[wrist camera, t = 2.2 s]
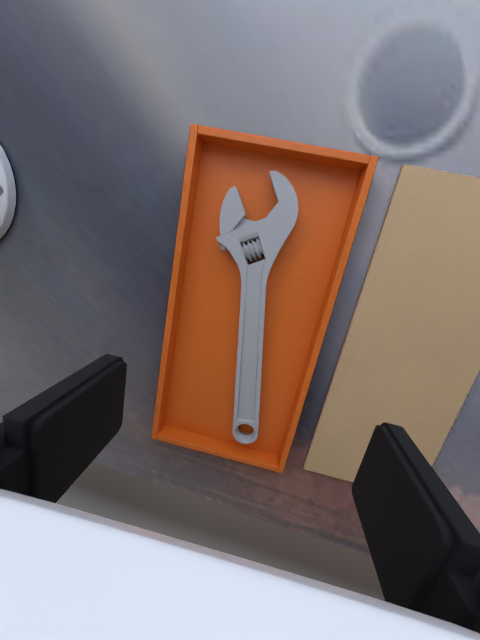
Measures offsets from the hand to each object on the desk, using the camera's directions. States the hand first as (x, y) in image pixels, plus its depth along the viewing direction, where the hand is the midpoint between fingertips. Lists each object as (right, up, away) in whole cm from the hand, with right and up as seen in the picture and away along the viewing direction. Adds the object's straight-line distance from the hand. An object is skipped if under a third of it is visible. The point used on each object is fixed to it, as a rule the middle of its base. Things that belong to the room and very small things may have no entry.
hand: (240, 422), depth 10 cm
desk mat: (+16, 0, +15) cm, 22 cm away
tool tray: (+1, +4, +16) cm, 16 cm away
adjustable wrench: (+1, +4, +16) cm, 16 cm away
